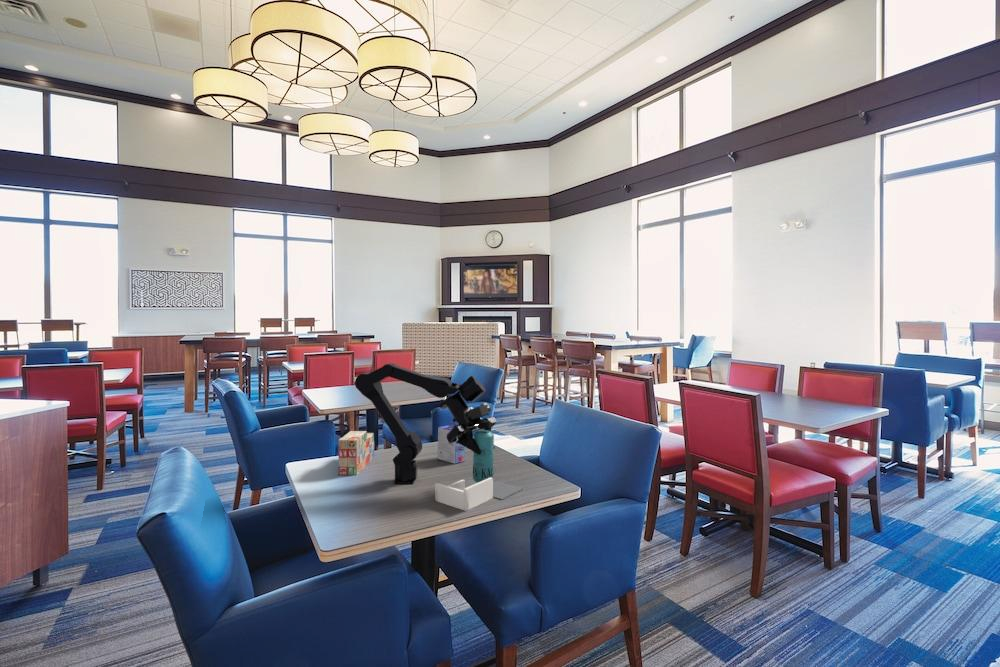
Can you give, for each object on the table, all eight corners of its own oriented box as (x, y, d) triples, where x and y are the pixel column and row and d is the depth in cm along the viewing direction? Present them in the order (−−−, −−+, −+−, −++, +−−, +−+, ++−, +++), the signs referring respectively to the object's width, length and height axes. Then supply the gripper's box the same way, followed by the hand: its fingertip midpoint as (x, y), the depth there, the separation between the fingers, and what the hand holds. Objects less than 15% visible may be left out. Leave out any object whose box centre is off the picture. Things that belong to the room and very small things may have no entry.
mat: (456, 486, 149) (456, 485, 149) (478, 477, 158) (478, 476, 158) (502, 499, 138) (502, 498, 138) (523, 489, 147) (523, 488, 147)
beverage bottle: (473, 480, 149) (474, 418, 148) (494, 481, 149) (495, 418, 148) (471, 488, 142) (472, 422, 142) (493, 488, 142) (494, 422, 141)
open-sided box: (435, 500, 137) (435, 480, 137) (462, 489, 147) (462, 469, 147) (466, 511, 130) (466, 489, 130) (492, 498, 140) (493, 477, 139)
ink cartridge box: (466, 461, 175) (466, 422, 175) (455, 464, 171) (455, 425, 171) (447, 456, 182) (447, 418, 181) (437, 459, 178) (437, 421, 177)
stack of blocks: (358, 456, 180) (358, 424, 180) (374, 457, 180) (374, 425, 180) (338, 475, 159) (338, 439, 159) (356, 475, 159) (356, 439, 159)
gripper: (453, 399, 139) (482, 442, 133) (492, 391, 154) (519, 430, 148) (434, 421, 145) (461, 464, 138) (474, 412, 159) (499, 450, 153)
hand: (487, 451), depth 144 cm, fingers closed on beverage bottle, 6 cm apart
